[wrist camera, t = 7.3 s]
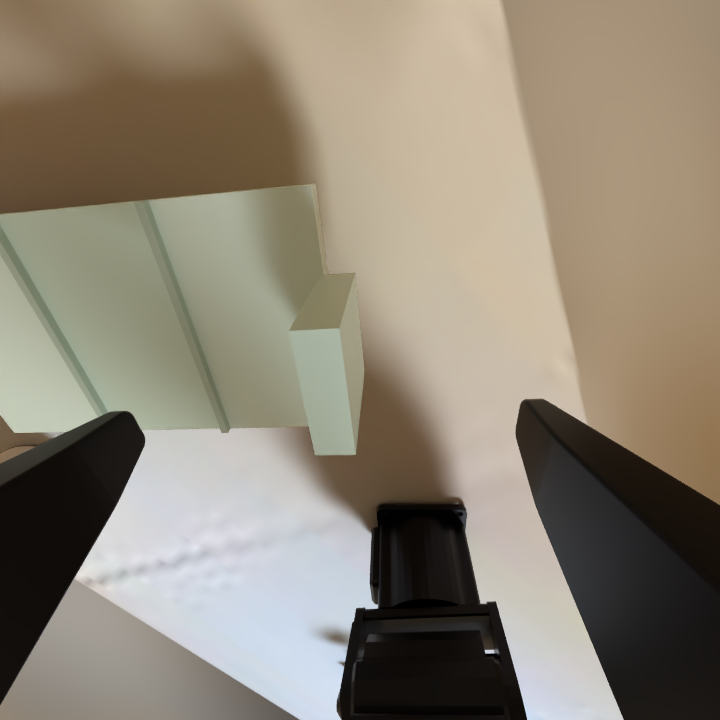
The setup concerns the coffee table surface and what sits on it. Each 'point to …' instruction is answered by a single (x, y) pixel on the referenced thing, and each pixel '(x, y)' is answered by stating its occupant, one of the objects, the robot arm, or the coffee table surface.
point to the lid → (180, 317)
